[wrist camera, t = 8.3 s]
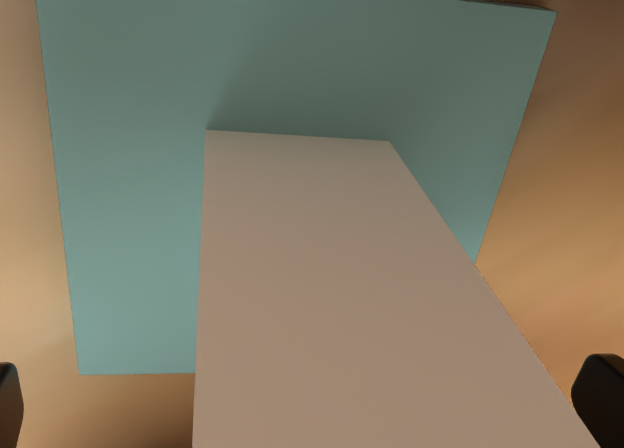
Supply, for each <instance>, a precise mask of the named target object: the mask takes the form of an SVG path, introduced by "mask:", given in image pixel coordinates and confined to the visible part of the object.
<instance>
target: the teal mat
mask: <svg viewBox="0 0 624 448" xmlns="http://www.w3.org/2000/svg"><path fill="white" fill-rule="evenodd" d="M36 7H37V15H38V24H39V32H40V41H41V50H42V58H43V67H44V75H45V84H46V93H47V101H48V110H49V119H50V127H51V136H52V144H53V153H54V162H55V170H56V179H57V188H58V196H59V205H60V213H61V222H62V231H63V239H64V248H65V256H66V265H67V274H68V282H69V291H70V300H71V308H72V317H73V325H74V334H75V343H76V351H77V360H78V368H79V375H117V374H170V373H195V365H196V341H197V316H198V291H199V267H200V242H201V217H202V193H203V168H204V143H205V130H219V131H235V132H251V133H267V134H283V135H299V136H315V137H331V138H348V139H364V140H380V141H389V142H390V143H391V145H392V146H393V147H394V149H395V150H396V152H397V153H398V155H399V156H400V158H401V159H402V160H403V162H404V163H405V165H406V166H407V168H408V169H409V171H410V172H411V174H412V175H413V176H414V178H415V179H416V181H417V182H418V184H419V185H420V187H421V188H422V190H423V191H424V192H425V194H426V195H427V197H428V198H429V200H430V201H431V203H432V204H433V205H434V207H435V208H436V210H437V211H438V213H439V214H440V216H441V217H442V219H443V220H444V221H445V223H446V224H447V226H448V227H449V229H450V230H451V232H452V233H453V234H454V236H455V237H456V239H457V240H458V242H459V243H460V245H461V246H462V248H463V249H464V250H465V252H466V253H467V255H468V256H469V258H470V259H471V261H472V262H473V263H474V264H475V261H476V258H477V255H478V252H479V249H480V246H481V243H482V240H483V237H484V234H485V230H486V227H487V224H488V221H489V218H490V215H491V212H492V209H493V206H494V203H495V200H496V197H497V194H498V191H499V188H500V185H501V182H502V179H503V176H504V173H505V170H506V167H507V164H508V161H509V158H510V155H511V152H512V149H513V146H514V143H515V140H516V137H517V134H518V131H519V128H520V125H521V122H522V118H523V115H524V112H525V109H526V106H527V103H528V100H529V97H530V94H531V91H532V88H533V85H534V82H535V79H536V76H537V73H538V70H539V67H540V64H541V61H542V58H543V55H544V52H545V49H546V46H547V43H548V40H549V37H550V34H551V31H552V28H553V25H554V22H555V19H556V16H557V13H558V12H556V11H553V10H550V9H548V8H544V7H536V6H527V5H519V4H510V3H502V2H494V1H485V0H36Z"/></svg>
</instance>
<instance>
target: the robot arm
mask: <svg viewBox="0 0 624 448" xmlns="http://www.w3.org/2000/svg"><path fill="white" fill-rule="evenodd" d="M571 399H572V403H573V405H574V408H575V410H576V413H577V414H578V416H579V417H580V419H581V420H582V422H583V423H584V425H585V426H586V427H587V429H588V430H589V432H590V433H591V435H592V436H593V438H594V439H595V441H596V442H597V443H598V445H599V446H600V448H624V359H623V358H621V357H620V356H618V355H615V354H591V355H590V356H588V357H587V358H586V360H585V362H584V364H583V366H582V368H581V370H580V372H579V374H578V376H577V378H576V380H575V382H574V384H573V386H572V389H571ZM23 411H24V404H23V398H22V393H21V388H20V383H19V378H18V372H17V369H16V367H15V365H14V364H12V363H9V362H4V363H0V448H16V446H17V441H18V437H19V433H20V429H21V424H22V420H23Z"/></svg>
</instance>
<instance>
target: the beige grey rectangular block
mask: <svg viewBox="0 0 624 448" xmlns="http://www.w3.org/2000/svg"><path fill="white" fill-rule="evenodd" d="M192 448H600V446H599V445H598V443H597V442H596V441H595V439H594V438H593V436H592V435H591V433H590V432H589V430H588V429H587V427H586V426H585V425H584V423H583V422H582V420H581V419H580V417H579V416H578V414H577V413H576V411H575V410H574V409H573V407H572V406H571V404H570V403H569V401H568V400H567V398H566V397H565V396H564V394H563V393H562V391H561V390H560V388H559V387H558V385H557V384H556V382H555V381H554V380H553V378H552V377H551V375H550V374H549V372H548V371H547V369H546V368H545V367H544V365H543V364H542V362H541V361H540V359H539V358H538V356H537V355H536V353H535V352H534V351H533V349H532V348H531V346H530V345H529V343H528V342H527V340H526V339H525V337H524V336H523V335H522V333H521V332H520V330H519V329H518V327H517V326H516V324H515V323H514V322H513V320H512V319H511V317H510V316H509V314H508V313H507V311H506V310H505V308H504V307H503V306H502V304H501V303H500V301H499V300H498V298H497V297H496V295H495V294H494V293H493V291H492V290H491V288H490V287H489V285H488V284H487V282H486V281H485V279H484V278H483V277H482V275H481V274H480V272H479V271H478V269H477V268H476V266H475V265H474V263H473V262H472V261H471V259H470V258H469V256H468V255H467V253H466V252H465V250H464V249H463V248H462V246H461V245H460V243H459V242H458V240H457V239H456V237H455V236H454V234H453V233H452V232H451V230H450V229H449V227H448V226H447V224H446V223H445V221H444V220H443V219H442V217H441V216H440V214H439V213H438V211H437V210H436V208H435V207H434V205H433V204H432V203H431V201H430V200H429V198H428V197H427V195H426V194H425V192H424V191H423V190H422V188H421V187H420V185H419V184H418V182H417V181H416V179H415V178H414V176H413V175H412V174H411V172H410V171H409V169H408V168H407V166H406V165H405V163H404V162H403V160H402V159H401V158H400V156H399V155H398V153H397V152H396V150H395V149H394V147H393V146H392V145H391V143H390V142H389V141H380V140H364V139H348V138H331V137H315V136H299V135H283V134H267V133H251V132H235V131H219V130H205V143H204V168H203V193H202V217H201V242H200V267H199V291H198V316H197V341H196V365H195V390H194V414H193V439H192Z"/></svg>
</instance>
